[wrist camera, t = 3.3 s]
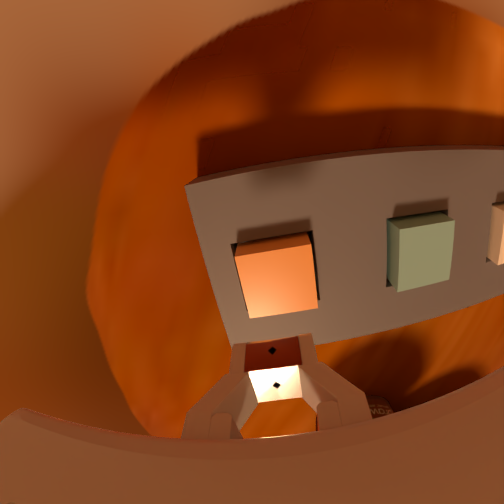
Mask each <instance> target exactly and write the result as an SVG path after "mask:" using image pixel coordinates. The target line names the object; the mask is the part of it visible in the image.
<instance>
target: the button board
mask: <svg viewBox="0 0 504 504" xmlns="http://www.w3.org/2000/svg"><path fill="white" fill-rule="evenodd" d="M185 190H186V194H187V198H188V202H189V206H190V210H191V213H192V217H193V221H194V225H195V228H196V232H197V236H198V239H199V243H200V246H201V250H202V254H203V257H204V261H205V264H206V267H207V271H208V274H209V278H210V281H211V284H212V288H213V291H214V294H215V298H216V301H217V304H218V307H219V310H220V314H221V317H222V320H223V323H224V326H225V329H226V332H227V335H228V339H229V342H230V345H231V348H232V346H233V345H234V344H236V343H247V342H254V341H263V340H272V339H279V338H285V337H291V336H297V335H301V334H307V333H311V334H312V336H313V341H314V345H318V344H324V343H329V342H335V341H340V340H345V339H350V338H355V337H360V336H364V335H369V334H373V333H378V332H382V331H386V330H390V329H394V328H398V327H402V326H406V325H410V324H413V323H417V322H421V321H424V320H428V319H431V318H434V317H438V316H441V315H444V314H447V313H451V312H454V311H457V310H460V309H463V308H466V307H469V306H472V305H474V304H477V303H480V302H483V301H485V300H488V299H491V298H493V297H496V296H499V295H501V294H504V263H503V264H500V265H496V264H495V263H494V262H493V261H491V260H490V259H489V258H487V257H486V256H487V250H488V242H489V234H490V224H491V211H492V203H499V202H504V146H491V145H430V146H408V147H392V148H379V149H367V150H357V151H348V152H339V153H330V154H323V155H315V156H308V157H301V158H295V159H288V160H282V161H276V162H270V163H264V164H259V165H254V166H248V167H243V168H238V169H233V170H228V171H223V172H219V173H214V174H210V175H205V176H201V177H197V178H195V179H194V180H192V181H191V182H189V183H188V184H186V185H185ZM436 211H440V212H441V213H443V214H445V215H447V216H448V217H450V218H452V219H454V220H455V227H454V241H453V252H452V261H451V269H450V276H449V280H445V281H442V282H438V283H434V284H430V285H426V286H422V287H418V288H414V289H409V290H405V291H401V292H397V291H396V290H395V288H394V287H393V286H392V284H391V283H390V281H389V280H388V279H387V220H386V219H390V218H397V217H403V216H410V215H416V214H423V213H430V212H436ZM302 232H307V235H308V237H309V240H310V242H311V246H312V254H313V263H314V272H315V281H316V291H317V302H318V308H316V309H310V310H304V311H297V312H291V313H285V314H278V315H271V316H264V317H257V318H250V317H249V313H248V309H247V306H246V302H245V298H244V294H243V290H242V286H241V282H240V277H239V273H238V269H237V265H236V261H235V252H236V248H237V244H238V243H242V242H248V241H254V240H260V239H266V238H272V237H278V236H284V235H290V234H296V233H302Z"/></svg>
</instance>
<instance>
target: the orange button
mask: <svg viewBox="0 0 504 504" xmlns="http://www.w3.org/2000/svg"><path fill="white" fill-rule="evenodd" d="M235 261H236V265H237V269H238V273H239V277H240V282H241V286H242V290H243V294H244V298H245V302H246V306H247V309H248V313H249V317H250V318H257V317H264V316H271V315H278V314H285V313H291V312H297V311H304V310H310V309H316V308H318V302H317V291H316V281H315V272H314V263H313V254H312V246H311V242H310V240H309V237H308V235H307V232H302V233H296V234H290V235H284V236H278V237H272V238H266V239H260V240H254V241H248V242H242V243H238V244H237V248H236V252H235Z"/></svg>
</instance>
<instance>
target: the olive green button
mask: <svg viewBox="0 0 504 504" xmlns="http://www.w3.org/2000/svg"><path fill="white" fill-rule="evenodd" d="M386 220H387V279H388V280H389V281H390V283H391V284H392V286H393V287H394V288H395V290H396V291H397V292H401V291H405V290H409V289H414V288H418V287H422V286H426V285H430V284H434V283H438V282H442V281H445V280H449V276H450V269H451V261H452V252H453V241H454V227H455V220H454V219H452V218H450V217H448V216H447V215H445V214H443V213H441V212H440V211H436V212H430V213H423V214H416V215H410V216H403V217H397V218H390V219H386Z"/></svg>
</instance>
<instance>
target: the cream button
mask: <svg viewBox="0 0 504 504" xmlns="http://www.w3.org/2000/svg"><path fill="white" fill-rule="evenodd" d="M486 257H487V258H489V259H490V260H491V261H493V262H494V263H495V264H496V265H500V264H503V263H504V202H499V203H492V211H491V224H490V234H489V242H488V250H487V256H486Z"/></svg>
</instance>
